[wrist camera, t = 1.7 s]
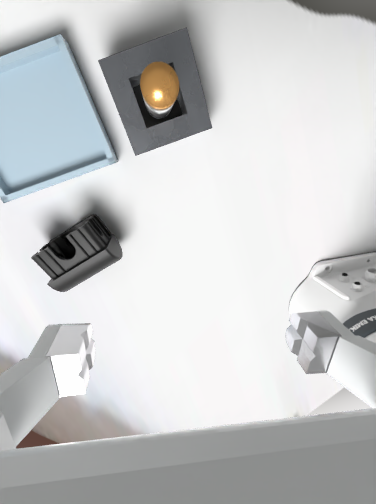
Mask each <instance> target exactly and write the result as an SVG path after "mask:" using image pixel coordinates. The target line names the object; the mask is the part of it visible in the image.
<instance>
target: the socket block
mask: <svg viewBox="0 0 376 504" xmlns="http://www.w3.org/2000/svg"><path fill="white" fill-rule="evenodd" d="M98 61H99V64H100V66H101V69H102V71H103V74H104V77H105V79H106V82H107V84H108V87H109V89H110V92H111V94H112V97H113V100H114V102H115V105H116V107H117V110H118V112H119V115H120V117H121V120H122V123H123V125H124V128H125V130H126V133H127V135H128V138H129V140H130V143H131V146H132V148H133V151H134V153H135V156H136V155H139V154H142V153H145V152H147V151H150V150H153V149H156V148H158V147H161V146H164V145H167V144H169V143H172V142H175V141H178V140H180V139H183V138H186V137H189V136H191V135H194V134H197V133H200V132H202V131H205V130H208V129H211V128H212V125H211V121H210V117H209V113H208V110H207V106H206V102H205V98H204V94H203V90H202V86H201V82H200V78H199V74H198V70H197V66H196V62H195V58H194V55H193V51H192V47H191V43H190V39H189V35H188V31H187V28H184V29H181V30H179V31H176V32H173V33H171V34H168V35H165V36H162V37H160V38H157V39H154V40H152V41H149V42H146V43H144V44H141V45H138V46H136V47H133V48H130V49H128V50H125V51H122V52H119V53H117V54H114V55H111V56H109V57H106V58H103V59H101V60H98ZM153 62H164V63H166V64H168V65H170V66H171V67H172V68H173V69H174V71H175V72H176V74H177V76H178V80H179V93H178V96H177V98H178V101H179V105H180V108H181V111H182V116H179V117H176V118H174V119H171V120H168V121H165V122H163V123H160V124H157V125H154V126H152V127H149V128H147V127H146V125H145V122H144V119H143V116H142V113H141V111H140V108H139V105H138V102H137V99H136V97H135V94H134V91H133V87H136V86H139V85H140V79H141V75H142V72H143V71H144V69H145V68H146V67H147V66H148V65H149V64H151V63H153Z"/></svg>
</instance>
